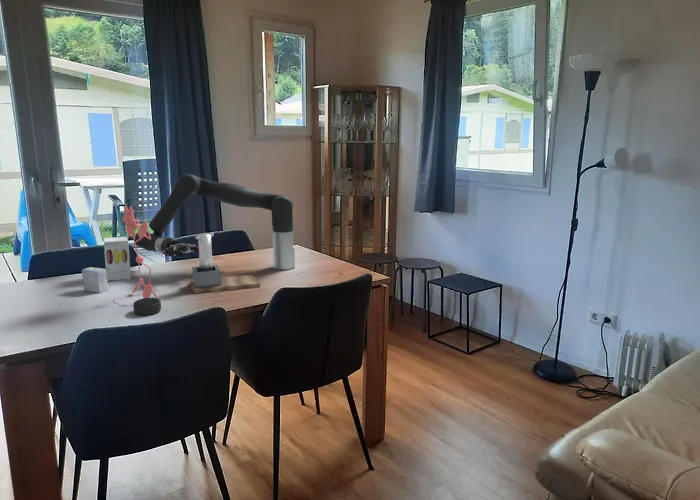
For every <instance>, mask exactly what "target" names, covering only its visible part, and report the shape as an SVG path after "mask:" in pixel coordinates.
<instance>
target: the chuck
mask: <svg viewBox="0 0 700 500" xmlns="http://www.w3.org/2000/svg"><path fill="white" fill-rule="evenodd" d="M212 265H213V264H212ZM191 273H192V275H191V276H192V277H191V278H192V280H193V283H194V286H195V288H202V287H212V286H222V284H221V278H222V271H221V269H220V268H219V266H218V264H214V265H213V271H204V272H200V266H191Z"/></svg>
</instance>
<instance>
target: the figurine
mask: <svg viewBox="0 0 700 500" xmlns="http://www.w3.org/2000/svg"><path fill="white" fill-rule="evenodd" d="M122 221H123V223H124V225H125V230H124V233H126V234H127V238H132V239H133V241H134V240H135V234H136V231H137V233H138V235H139V239H138V240H136V241H135V243H134V242H133V245H134V248H135V253H136V257H135V262H137V263H138V271H139V272H138V273H139V274H138V275H139V280H138V282H137V283H136V285H135V286H134V288H133V289H132V292H131V294H135V293H136V291H137V290H138V289H139V287H141V284H142V286H143V291H142V299H143V298H151V295H153V296H154V298H157V299H159V298H158V296H157V294H156V293H155V291H154V290H153V285H152V284H151V283H150V281H151V273H152V272H151V271H152V268H151V267H150V266H149V265H147V264H146V263H144V257H143V256H142V255H139V252H138V248H137V247H138V246H137V245H136V242H138V241H139V240H140V239H142V238H143V237H146V238H148V239H150V240H151V236H150V233H151V232H150V231H149V223H148V221H147V220H144V221H143V222H142V223H141V224H140V221H139V217H137V218H135V217H134V211H133V208H132V206H131V205H130V206H129V208H128V206H127V205H124V214H123V215H122ZM135 230H136V231H135ZM146 232H148V235H149V237H148V236H146ZM141 264H142V265H144V266H146V267H147V268H148V269H149V272H148V274H149V275H148V283H147V284H145V283H144V278H143V277H141V266H140V265H141ZM114 300H115V297H114V299H113V303H115V304H116V305H119V306H121V304H120V303H118V302H116V301H114ZM122 307H126V304H125V305H124V304H122Z"/></svg>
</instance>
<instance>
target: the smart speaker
mask: <svg viewBox="0 0 700 500" xmlns="http://www.w3.org/2000/svg"><path fill="white" fill-rule="evenodd" d="M132 307H133V313H134V314H135V315H138V316H151V315H154V314H157V313H159V312H160V311H161V310H162V301H161V300H160V299H159V298H156V297H149V298H143V297H142V298H140V299H137V300H135V301H134V302H133V305H132Z"/></svg>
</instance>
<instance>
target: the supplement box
mask: <svg viewBox="0 0 700 500" xmlns="http://www.w3.org/2000/svg"><path fill="white" fill-rule="evenodd" d="M103 239H104V240H103V244H104V245H103V248H104V249H103V250H104V263H105V269H106V277H107V282H110V281H109V280H115V281H120V280H119V279H127V280H130V279H129V278H131V279H132V276H131V275H132V274H131V261H130V260H131V258H130V248H129V247H130V246H129V237H128V236H121V237H120V236H119V237H118V236H114V237H104V238H103Z"/></svg>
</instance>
